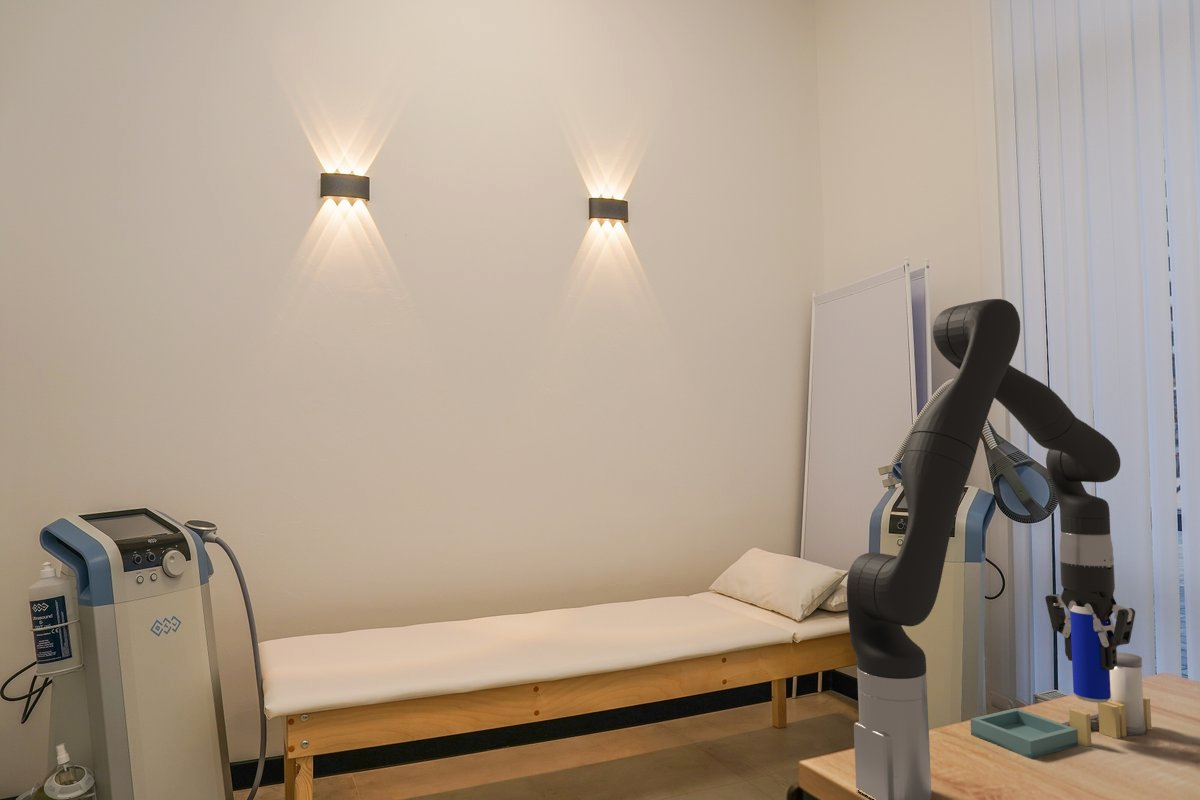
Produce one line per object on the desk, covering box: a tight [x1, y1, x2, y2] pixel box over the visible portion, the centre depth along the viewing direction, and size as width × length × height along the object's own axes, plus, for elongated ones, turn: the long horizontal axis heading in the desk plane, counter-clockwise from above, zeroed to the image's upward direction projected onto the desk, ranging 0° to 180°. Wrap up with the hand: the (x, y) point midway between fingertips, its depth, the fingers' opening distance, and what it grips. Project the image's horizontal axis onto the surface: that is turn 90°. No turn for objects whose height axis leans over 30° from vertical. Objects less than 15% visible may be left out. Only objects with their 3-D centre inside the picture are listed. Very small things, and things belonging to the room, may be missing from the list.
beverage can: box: [1070, 605, 1111, 704], centre depth 128 cm, size 5×5×15 cm
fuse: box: [1109, 652, 1146, 736], centre depth 131 cm, size 5×5×12 cm
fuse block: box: [1061, 696, 1152, 747], centre depth 130 cm, size 17×6×5 cm, turn 114°
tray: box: [970, 707, 1079, 759], centre depth 128 cm, size 11×11×3 cm
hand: (1090, 664), depth 128 cm, fingers closed on beverage can, 5 cm apart
